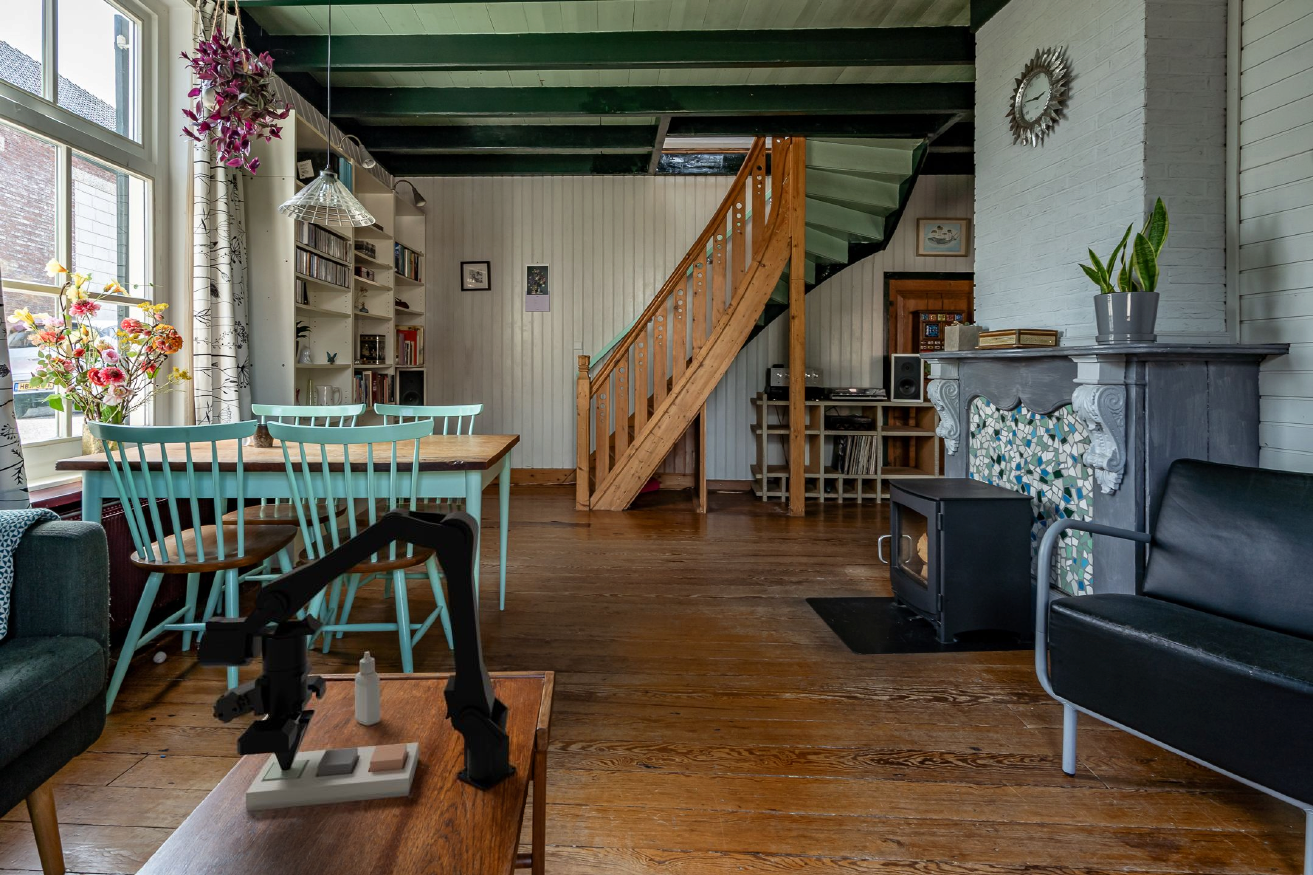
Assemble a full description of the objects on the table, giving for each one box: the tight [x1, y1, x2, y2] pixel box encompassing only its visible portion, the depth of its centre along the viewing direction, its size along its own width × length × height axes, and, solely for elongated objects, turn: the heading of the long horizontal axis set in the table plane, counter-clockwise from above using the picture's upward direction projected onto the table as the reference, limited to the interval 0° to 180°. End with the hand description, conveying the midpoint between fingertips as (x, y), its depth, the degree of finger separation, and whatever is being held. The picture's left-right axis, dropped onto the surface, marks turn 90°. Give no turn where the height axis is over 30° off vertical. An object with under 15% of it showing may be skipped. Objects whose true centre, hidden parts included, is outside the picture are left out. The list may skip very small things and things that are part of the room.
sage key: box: [264, 760, 307, 781], centre depth 98 cm, size 4×4×2 cm
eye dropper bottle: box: [354, 651, 381, 726], centre depth 118 cm, size 4×6×12 cm
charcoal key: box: [318, 747, 358, 777], centre depth 99 cm, size 4×4×2 cm
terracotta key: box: [370, 743, 407, 772], centre depth 101 cm, size 4×4×2 cm
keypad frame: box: [245, 742, 420, 812], centre depth 99 cm, size 21×10×3 cm, turn 102°
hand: (286, 769), depth 98 cm, fingers closed, pressing on sage key
